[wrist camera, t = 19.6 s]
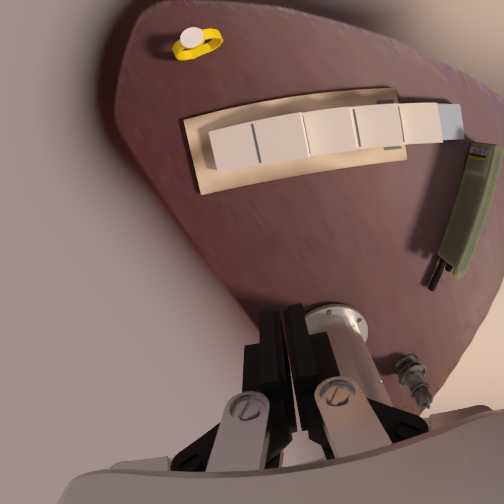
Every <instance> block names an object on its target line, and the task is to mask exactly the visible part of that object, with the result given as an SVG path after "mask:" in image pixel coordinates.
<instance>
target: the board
mask: <svg viewBox="0 0 504 504" xmlns="http://www.w3.org/2000/svg"><path fill="white" fill-rule="evenodd" d="M393 103H397V104H398V98H397V93H396V89H395V88H379V89H361V90H347V91H336V92H326V93H318V94H309V95H302V96H295V97H288V98H282V99H276V100H270V101H264V102H259V103H254V104H249V105H244V106H239V107H234V108H230V109H226V110H221V111H217V112H213V113H209V114H205V115H201V116H197V117H193V118H190V119H186V120H184V125H185V129H186V133H187V138H188V142H189V146H190V150H191V155H192V159H193V163H194V167H195V171H196V176H197V180H198V184H199V188H200V192H201V195H204V194H208V193H212V192H217V191H221V190H226V189H231V188H235V187H240V186H245V185H250V184H255V183H260V182H265V181H270V180H275V179H281V178H286V177H291V176H297V175H303V174H309V173H315V172H321V171H327V170H333V169H340V168H346V167H353V166H360V165H367V164H375V163H383V162H391V161H399V160H407V156H406V148H405V144H404V146H392V147H379V148H368V149H357V151H349V152H340V153H332V154H324V155H316V156H310V157H309V158H305V159H298V160H291V161H284V162H278V163H272V164H266V165H260V166H254V167H248V168H242V169H237V170H232V171H226V172H221V173H218V172H217V167H216V163H215V159H214V154H213V150H212V146H211V141H210V137H209V132H210V131H214V130H218V129H222V128H226V127H230V126H234V125H238V124H243V123H247V122H252V121H256V120H261V119H266V118H271V117H276V116H281V115H287V114H292V113H298V112H301V113H304V112H310V111H317V110H324V109H331V108H339V107H348V106H349V107H356V106H366V105H378V104H393Z"/></svg>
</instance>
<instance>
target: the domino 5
mask: <svg viewBox="0 0 504 504" xmlns="http://www.w3.org/2000/svg"><path fill="white" fill-rule="evenodd" d="M437 105H438V111H439V117H440V124H441V131H442V139H443V140H455V139H464V130H463V122H462V115H461V109H460V104H437Z"/></svg>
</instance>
